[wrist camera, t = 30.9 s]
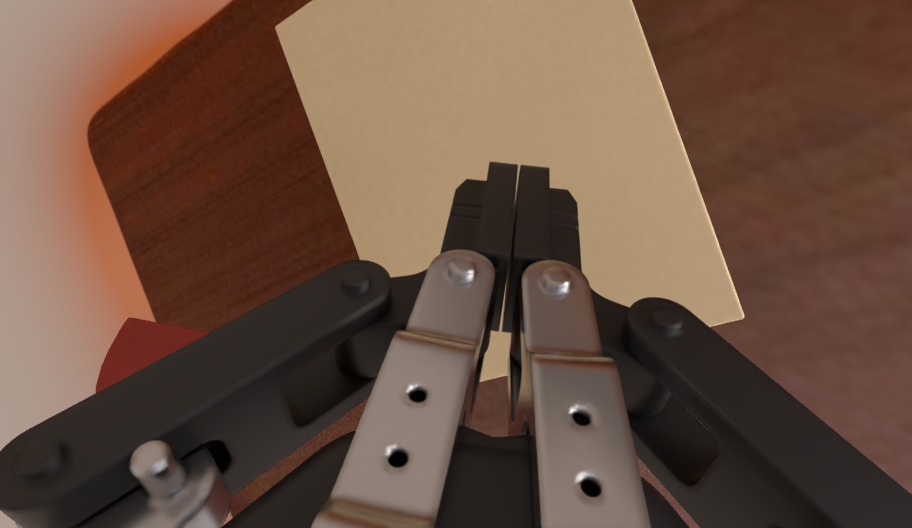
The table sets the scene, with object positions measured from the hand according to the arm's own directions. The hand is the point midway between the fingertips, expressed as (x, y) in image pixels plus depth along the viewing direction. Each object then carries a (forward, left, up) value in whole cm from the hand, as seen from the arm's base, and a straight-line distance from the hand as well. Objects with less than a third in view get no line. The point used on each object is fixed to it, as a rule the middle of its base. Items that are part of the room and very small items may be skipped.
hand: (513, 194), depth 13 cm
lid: (0, -4, -7) cm, 8 cm away
